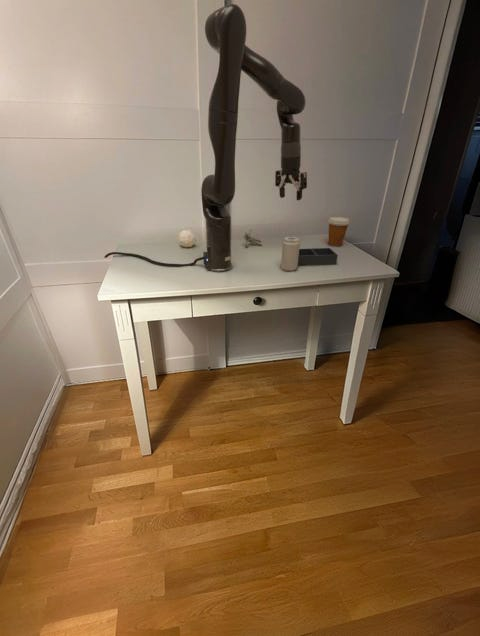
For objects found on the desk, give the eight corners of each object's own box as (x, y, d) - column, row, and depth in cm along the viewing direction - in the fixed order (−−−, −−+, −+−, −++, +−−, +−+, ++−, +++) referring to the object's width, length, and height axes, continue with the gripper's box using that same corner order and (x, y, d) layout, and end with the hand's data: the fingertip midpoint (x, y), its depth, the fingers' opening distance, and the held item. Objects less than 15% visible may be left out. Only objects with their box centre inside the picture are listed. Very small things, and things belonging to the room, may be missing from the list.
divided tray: (295, 266, 125) (297, 256, 123) (290, 258, 132) (291, 249, 130) (336, 264, 127) (337, 254, 125) (328, 257, 134) (329, 247, 132)
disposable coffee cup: (339, 248, 143) (344, 222, 137) (321, 244, 149) (324, 218, 143) (348, 244, 150) (353, 218, 143) (330, 240, 155) (334, 215, 149)
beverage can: (296, 266, 125) (299, 236, 118) (297, 272, 119) (300, 241, 113) (280, 265, 125) (283, 235, 119) (280, 271, 120) (283, 240, 114)
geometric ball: (186, 251, 147) (185, 234, 148) (199, 247, 143) (198, 230, 144) (174, 246, 141) (174, 229, 142) (188, 243, 137) (187, 225, 137)
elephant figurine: (261, 249, 142) (243, 242, 140) (257, 255, 148) (239, 248, 146) (265, 231, 146) (247, 224, 144) (261, 237, 151) (243, 230, 149)
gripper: (270, 155, 122) (271, 198, 131) (299, 157, 113) (298, 203, 122) (282, 152, 126) (283, 194, 135) (312, 153, 117) (310, 198, 126)
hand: (290, 198), depth 128 cm, fingers open, 8 cm apart
